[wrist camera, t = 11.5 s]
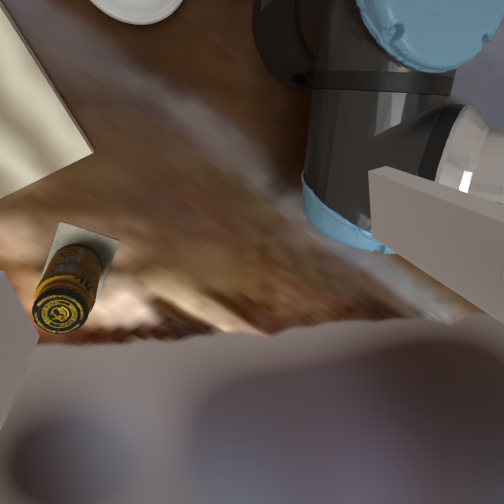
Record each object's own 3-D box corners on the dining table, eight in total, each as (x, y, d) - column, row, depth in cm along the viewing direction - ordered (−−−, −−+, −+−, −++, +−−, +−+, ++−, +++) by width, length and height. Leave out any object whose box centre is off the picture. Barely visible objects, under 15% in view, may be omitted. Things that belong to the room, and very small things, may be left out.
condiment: (40, 279, 49) (13, 333, 38) (60, 221, 47) (37, 261, 36) (98, 294, 52) (88, 349, 41) (119, 240, 50) (114, 282, 39)
